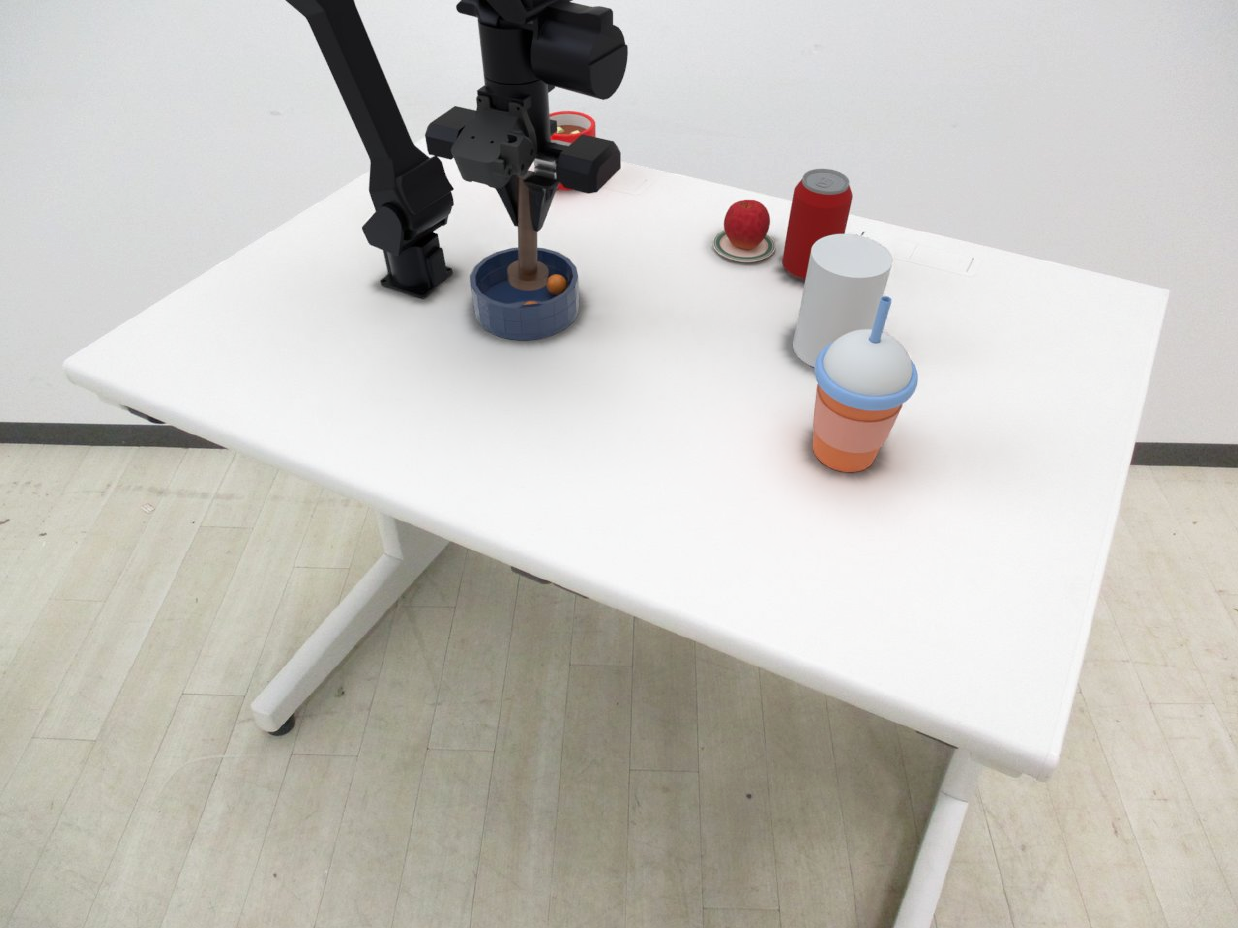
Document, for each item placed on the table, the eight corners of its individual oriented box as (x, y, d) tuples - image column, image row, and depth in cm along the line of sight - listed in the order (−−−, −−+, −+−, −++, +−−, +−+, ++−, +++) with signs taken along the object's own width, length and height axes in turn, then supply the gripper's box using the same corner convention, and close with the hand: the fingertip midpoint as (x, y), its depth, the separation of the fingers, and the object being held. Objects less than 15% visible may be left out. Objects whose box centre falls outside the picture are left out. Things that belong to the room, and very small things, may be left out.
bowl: (454, 322, 98) (448, 289, 94) (510, 269, 105) (506, 237, 102) (545, 352, 94) (543, 319, 91) (597, 295, 101) (596, 263, 98)
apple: (704, 256, 107) (708, 210, 103) (723, 226, 112) (728, 180, 108) (765, 270, 105) (772, 223, 100) (781, 238, 110) (789, 192, 106)
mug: (517, 196, 118) (512, 141, 112) (557, 159, 125) (554, 106, 119) (567, 209, 115) (565, 153, 110) (605, 170, 123) (605, 117, 117)
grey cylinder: (874, 337, 96) (900, 245, 87) (856, 379, 91) (882, 285, 82) (804, 319, 98) (823, 227, 90) (783, 359, 93) (801, 265, 85)
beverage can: (844, 265, 106) (864, 175, 98) (822, 291, 102) (842, 200, 94) (794, 249, 109) (810, 160, 100) (771, 274, 105) (786, 184, 96)
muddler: (499, 280, 91) (495, 175, 83) (525, 263, 94) (524, 160, 85) (530, 296, 90) (529, 190, 81) (556, 278, 92) (558, 174, 84)
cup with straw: (891, 491, 80) (945, 339, 67) (794, 476, 81) (829, 324, 68) (889, 425, 86) (939, 275, 73) (799, 413, 87) (832, 263, 74)
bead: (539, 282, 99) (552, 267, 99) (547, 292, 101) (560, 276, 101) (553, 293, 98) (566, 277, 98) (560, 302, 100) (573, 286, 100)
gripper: (375, 86, 74) (407, 244, 85) (564, 128, 68) (571, 291, 79) (447, 43, 81) (468, 194, 92) (623, 78, 75) (622, 234, 86)
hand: (528, 227), depth 87 cm, fingers closed on muddler, 2 cm apart
